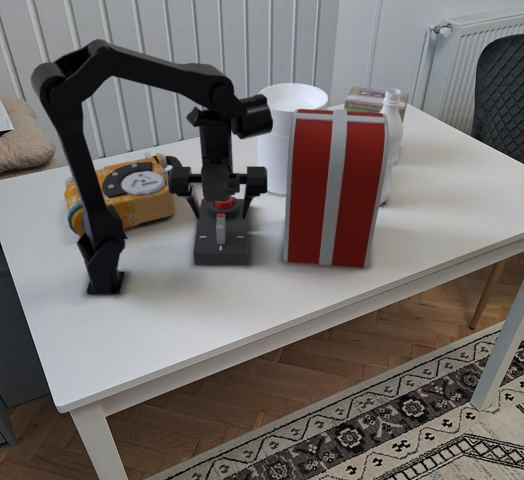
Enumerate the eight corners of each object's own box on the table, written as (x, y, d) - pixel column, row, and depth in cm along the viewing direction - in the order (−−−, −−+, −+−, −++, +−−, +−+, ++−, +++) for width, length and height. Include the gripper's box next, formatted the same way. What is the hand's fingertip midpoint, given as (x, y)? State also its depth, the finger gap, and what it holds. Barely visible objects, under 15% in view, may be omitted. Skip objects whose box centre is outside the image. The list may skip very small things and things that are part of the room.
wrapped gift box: (288, 218, 120) (294, 96, 100) (366, 223, 119) (387, 100, 99) (282, 262, 109) (287, 135, 89) (368, 268, 107) (392, 140, 88)
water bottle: (354, 203, 124) (370, 94, 106) (365, 189, 129) (382, 82, 110) (383, 211, 122) (405, 100, 104) (393, 196, 126) (415, 88, 108)
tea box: (337, 156, 140) (343, 100, 129) (344, 140, 146) (351, 84, 136) (393, 165, 137) (405, 107, 126) (398, 147, 144) (409, 91, 133)
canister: (331, 188, 129) (341, 105, 114) (271, 200, 125) (273, 116, 110) (304, 158, 139) (309, 79, 124) (248, 169, 135) (246, 88, 120)
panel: (247, 265, 108) (247, 252, 106) (194, 265, 108) (193, 252, 106) (248, 234, 116) (248, 221, 113) (198, 234, 116) (197, 221, 113)
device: (47, 163, 120) (172, 138, 129) (58, 195, 126) (176, 170, 135) (65, 212, 106) (203, 181, 115) (76, 246, 112) (206, 214, 121)
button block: (248, 231, 116) (248, 215, 113) (199, 231, 116) (197, 216, 113) (249, 206, 123) (248, 191, 120) (202, 207, 123) (200, 191, 120)
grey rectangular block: (225, 244, 108) (224, 226, 105) (217, 244, 108) (216, 226, 105) (225, 230, 111) (224, 212, 108) (218, 230, 111) (217, 212, 108)
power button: (232, 209, 116) (232, 202, 114) (214, 209, 116) (214, 202, 114) (233, 200, 118) (232, 193, 117) (215, 200, 118) (215, 193, 117)
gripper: (159, 166, 89) (170, 241, 101) (268, 165, 90) (267, 241, 101) (166, 136, 97) (176, 210, 108) (267, 136, 97) (266, 209, 109)
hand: (221, 218), depth 106 cm, fingers open, 9 cm apart
